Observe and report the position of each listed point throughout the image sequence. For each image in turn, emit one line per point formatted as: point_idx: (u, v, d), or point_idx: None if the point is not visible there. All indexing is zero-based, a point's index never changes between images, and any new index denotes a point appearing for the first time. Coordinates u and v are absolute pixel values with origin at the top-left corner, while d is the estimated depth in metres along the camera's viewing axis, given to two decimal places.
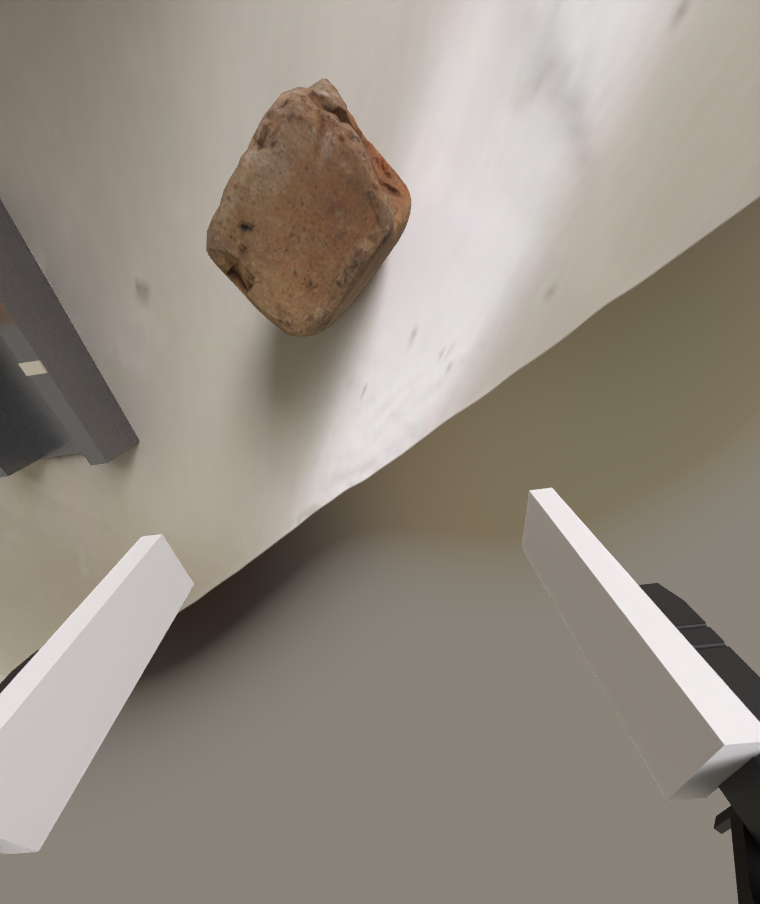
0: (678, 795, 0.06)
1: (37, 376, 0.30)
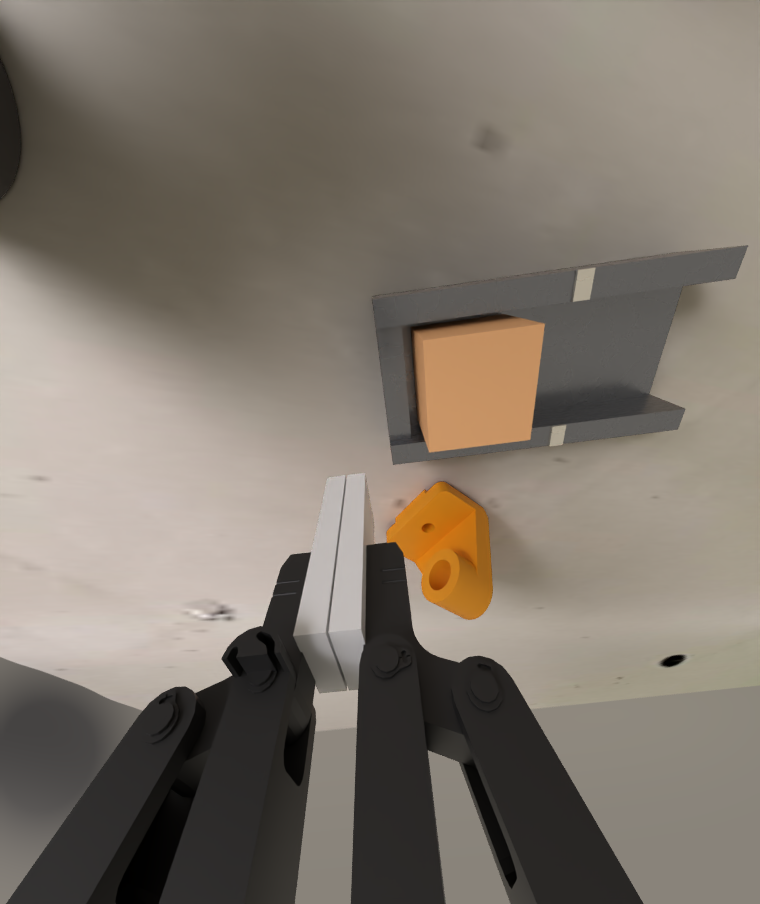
0: (351, 684, 0.08)
1: (593, 286, 0.22)
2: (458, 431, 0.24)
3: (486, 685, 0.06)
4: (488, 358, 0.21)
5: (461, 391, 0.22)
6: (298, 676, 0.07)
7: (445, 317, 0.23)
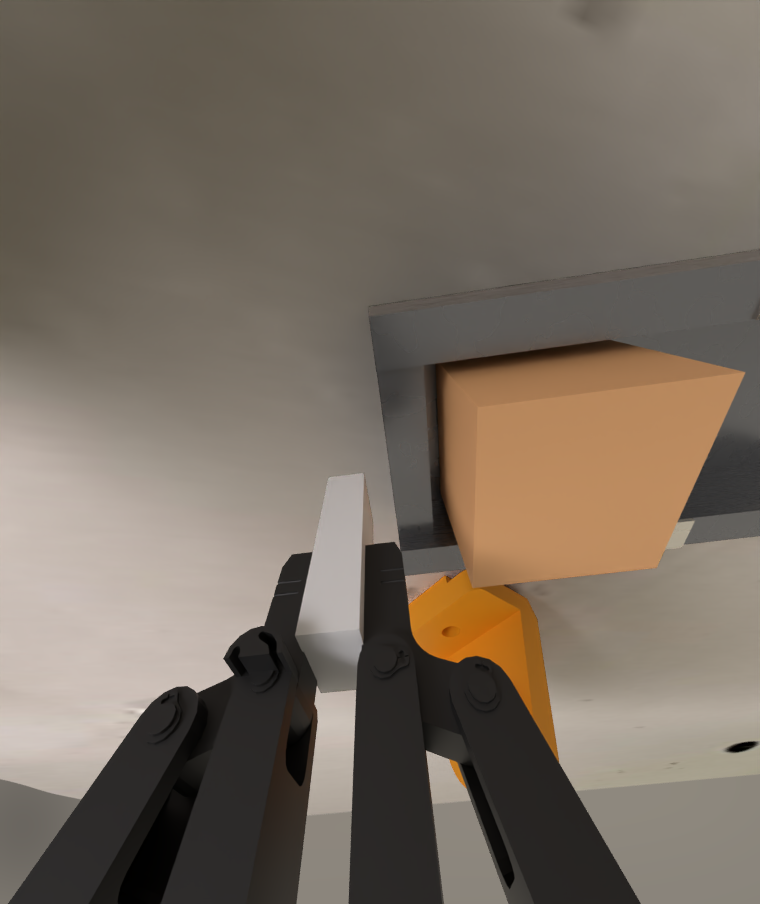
0: (350, 684, 0.08)
1: None
2: (529, 557, 0.13)
3: (484, 685, 0.06)
4: (608, 440, 0.10)
5: (544, 496, 0.11)
6: (300, 676, 0.07)
7: (509, 349, 0.12)
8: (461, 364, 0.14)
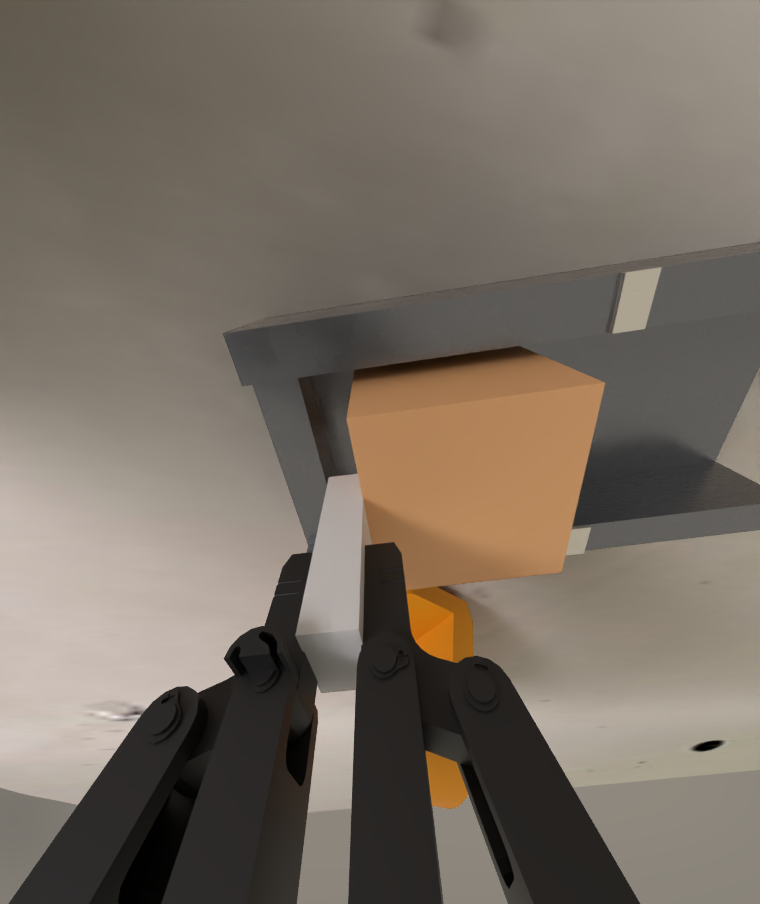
0: (349, 684, 0.08)
1: (653, 304, 0.11)
2: (432, 563, 0.13)
3: (483, 685, 0.06)
4: (483, 449, 0.10)
5: (433, 504, 0.11)
6: (300, 676, 0.07)
7: (370, 364, 0.12)
8: (371, 372, 0.14)
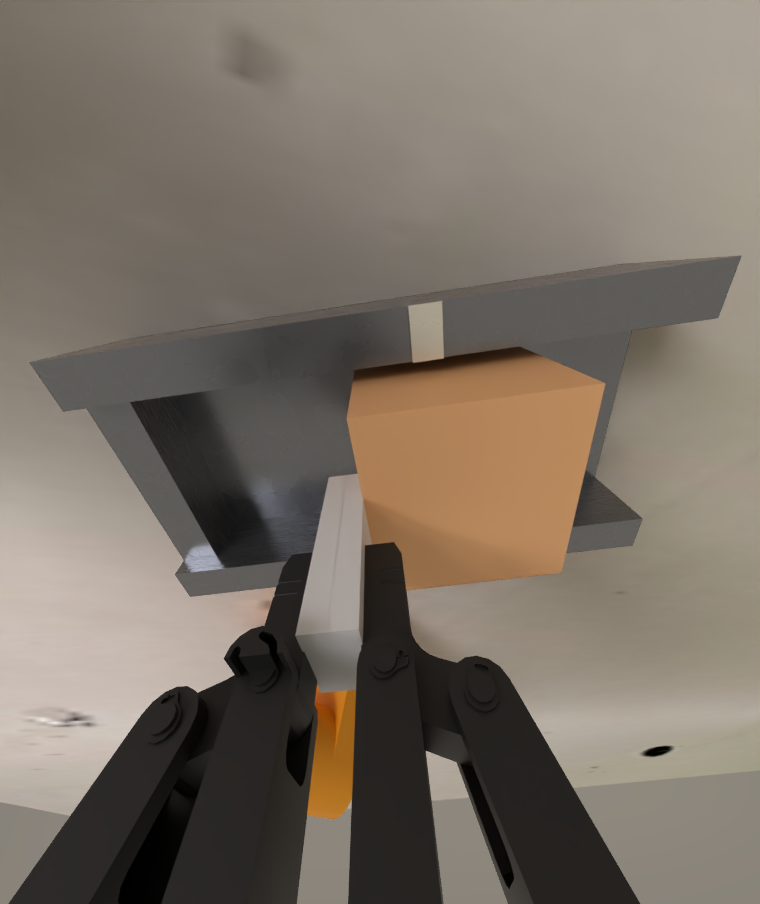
0: (350, 684, 0.08)
1: (447, 334, 0.12)
2: (432, 563, 0.13)
3: (483, 685, 0.06)
4: (483, 449, 0.10)
5: (433, 504, 0.11)
6: (300, 676, 0.07)
7: (183, 390, 0.12)
8: (372, 372, 0.14)
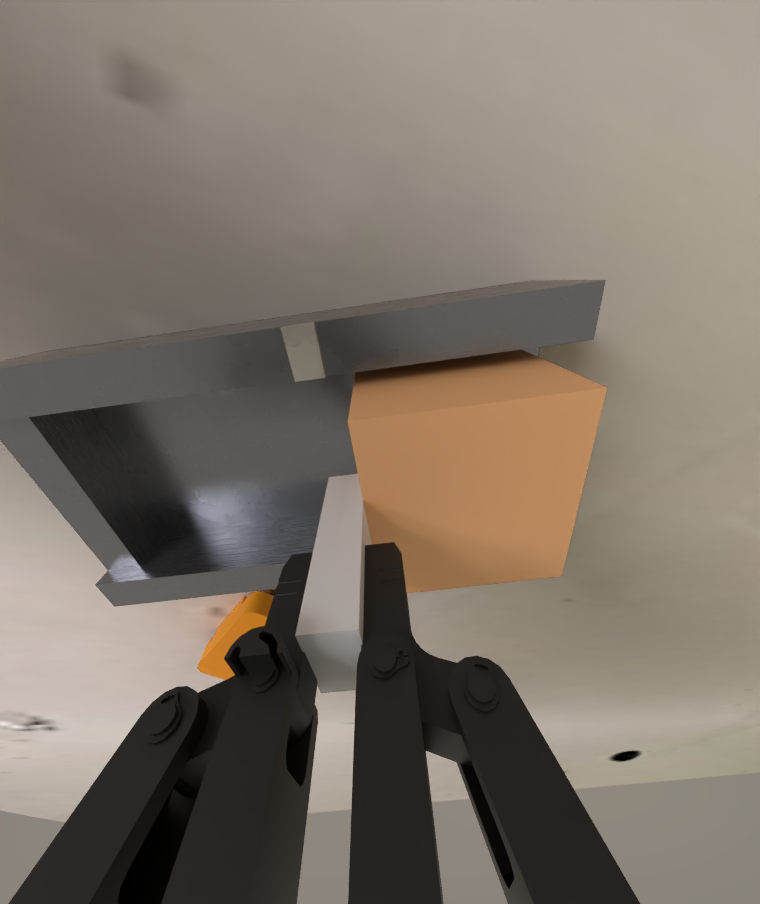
0: (350, 684, 0.08)
1: (326, 354, 0.12)
2: (432, 566, 0.13)
3: (483, 685, 0.06)
4: (485, 453, 0.10)
5: (434, 507, 0.11)
6: (300, 676, 0.07)
7: (72, 407, 0.12)
8: (373, 374, 0.14)
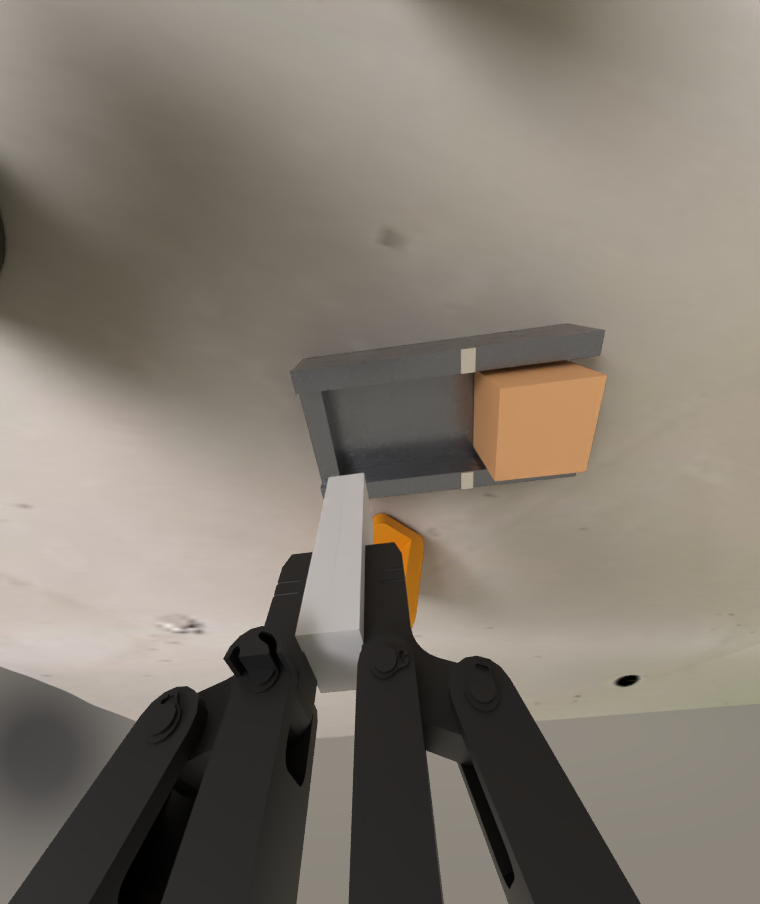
0: (350, 684, 0.08)
1: (477, 361, 0.26)
2: (522, 463, 0.27)
3: (484, 685, 0.06)
4: (555, 403, 0.24)
5: (529, 430, 0.25)
6: (300, 676, 0.07)
7: (354, 385, 0.27)
8: (489, 371, 0.28)
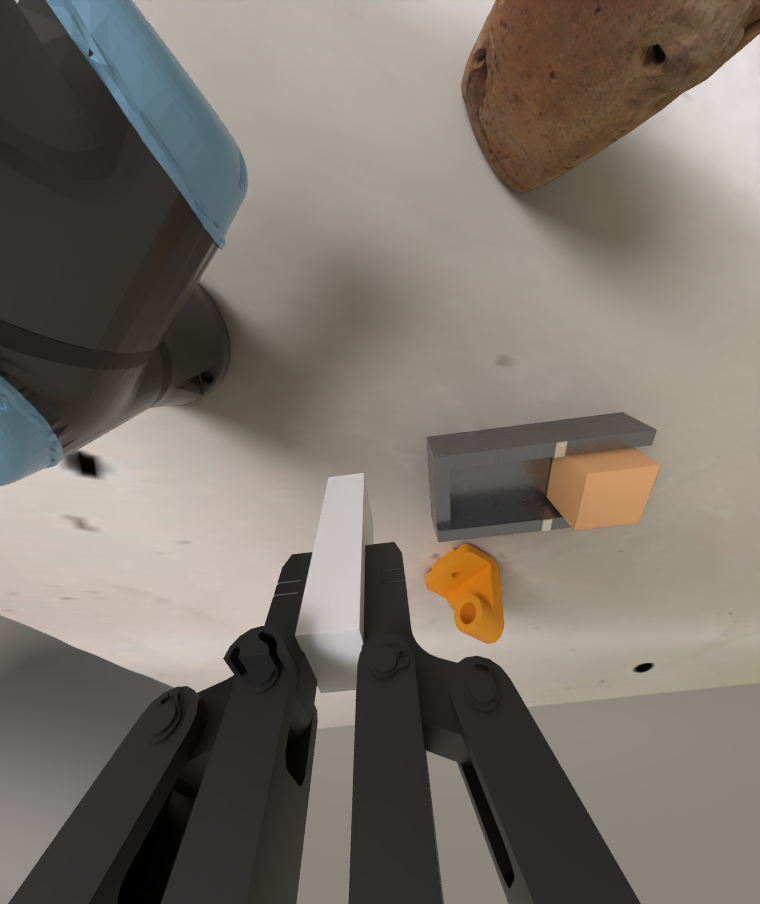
0: (350, 684, 0.08)
1: (566, 449, 0.37)
2: (595, 518, 0.38)
3: (484, 685, 0.06)
4: (623, 482, 0.35)
5: (603, 498, 0.36)
6: (300, 676, 0.07)
7: (477, 465, 0.37)
8: None
